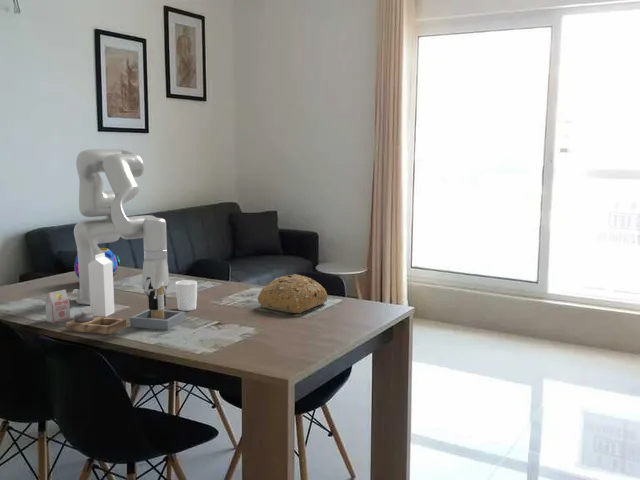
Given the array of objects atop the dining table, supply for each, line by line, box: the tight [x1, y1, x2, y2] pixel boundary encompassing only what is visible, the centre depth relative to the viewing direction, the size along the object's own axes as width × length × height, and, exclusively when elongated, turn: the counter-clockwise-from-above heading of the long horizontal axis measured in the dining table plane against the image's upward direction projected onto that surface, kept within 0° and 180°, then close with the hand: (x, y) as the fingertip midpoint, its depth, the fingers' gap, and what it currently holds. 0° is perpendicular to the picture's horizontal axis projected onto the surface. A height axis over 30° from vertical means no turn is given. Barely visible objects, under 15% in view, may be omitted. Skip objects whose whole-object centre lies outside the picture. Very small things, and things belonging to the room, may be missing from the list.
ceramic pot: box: [73, 247, 121, 279], centre depth 283 cm, size 18×18×15 cm
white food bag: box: [45, 289, 71, 323], centre depth 227 cm, size 4×7×10 cm, turn 145°
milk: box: [88, 253, 116, 318], centre depth 233 cm, size 6×6×22 cm
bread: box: [257, 273, 328, 314], centre depth 247 cm, size 24×21×12 cm
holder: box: [65, 311, 127, 335], centre depth 217 cm, size 16×9×5 cm, turn 74°
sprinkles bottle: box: [151, 281, 165, 319], centre depth 222 cm, size 5×5×13 cm
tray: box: [129, 308, 186, 331], centre depth 223 cm, size 14×12×3 cm
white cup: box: [174, 279, 198, 312], centre depth 242 cm, size 8×8×10 cm
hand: (157, 307), depth 222 cm, fingers closed on sprinkles bottle, 4 cm apart
